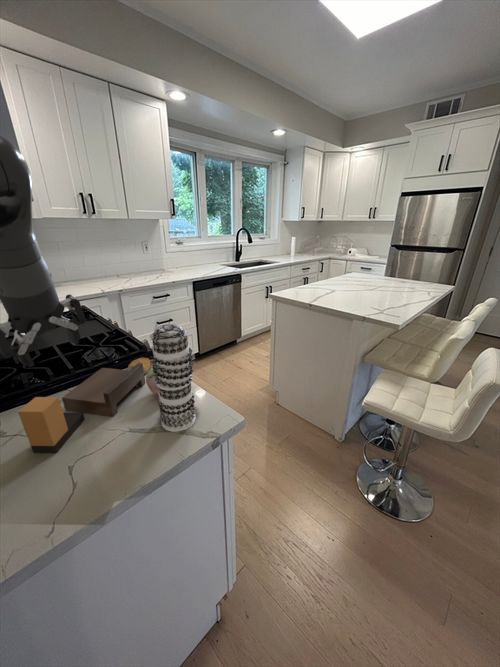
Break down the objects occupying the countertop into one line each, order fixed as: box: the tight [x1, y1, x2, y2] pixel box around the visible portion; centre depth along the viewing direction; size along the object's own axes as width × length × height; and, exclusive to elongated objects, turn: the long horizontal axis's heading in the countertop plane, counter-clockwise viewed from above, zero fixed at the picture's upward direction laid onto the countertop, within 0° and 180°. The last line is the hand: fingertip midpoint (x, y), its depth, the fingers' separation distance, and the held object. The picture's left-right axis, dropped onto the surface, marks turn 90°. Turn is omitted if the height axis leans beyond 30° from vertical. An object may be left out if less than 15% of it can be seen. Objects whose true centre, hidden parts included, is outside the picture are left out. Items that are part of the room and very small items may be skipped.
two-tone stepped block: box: [17, 396, 85, 454], centre depth 63 cm, size 11×5×11 cm, turn 0°
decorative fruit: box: [145, 367, 159, 396], centre depth 79 cm, size 9×8×10 cm
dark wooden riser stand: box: [61, 363, 146, 418], centre depth 78 cm, size 14×16×7 cm
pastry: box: [127, 357, 151, 375], centre depth 93 cm, size 9×7×4 cm
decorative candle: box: [149, 324, 197, 433], centre depth 65 cm, size 9×9×25 cm
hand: (53, 352), depth 55 cm, fingers open, 8 cm apart
